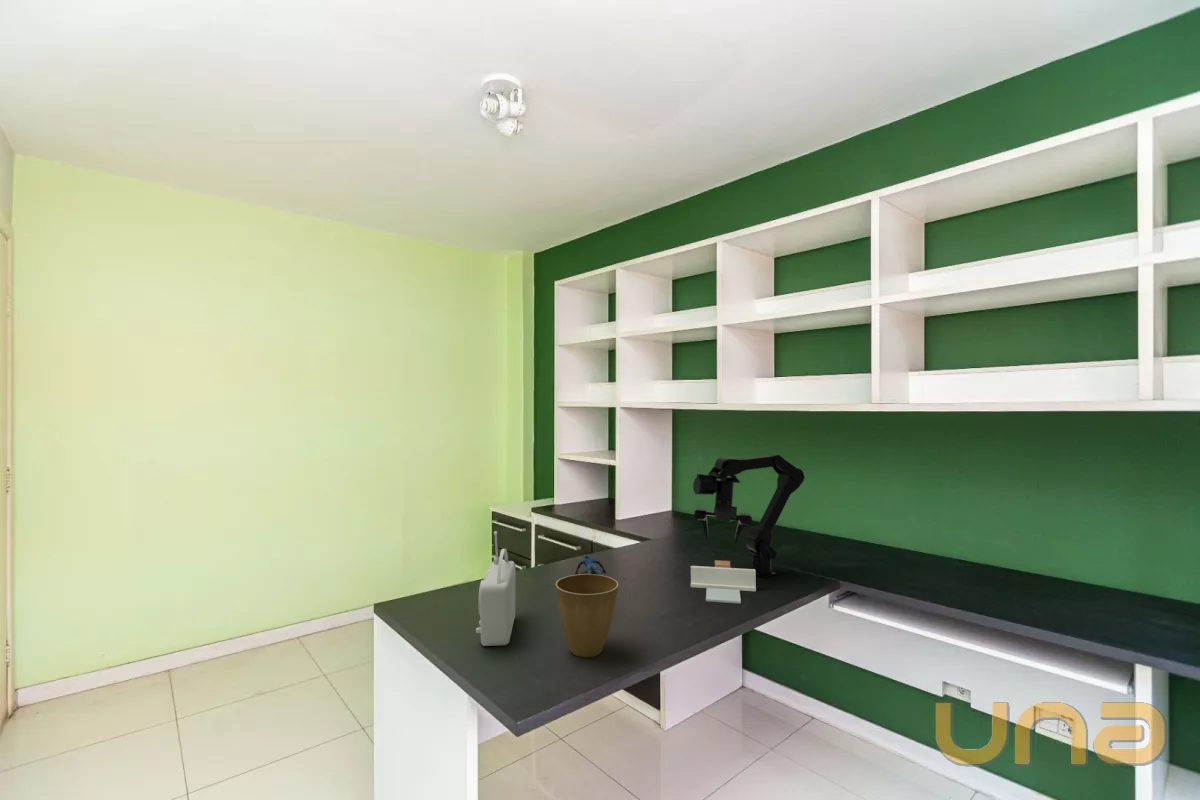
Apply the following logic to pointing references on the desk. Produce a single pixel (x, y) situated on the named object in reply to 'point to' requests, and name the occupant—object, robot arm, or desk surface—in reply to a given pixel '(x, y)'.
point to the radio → (497, 601)
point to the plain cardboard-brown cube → (722, 564)
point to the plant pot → (586, 611)
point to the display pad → (723, 595)
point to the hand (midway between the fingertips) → (721, 541)
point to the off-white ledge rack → (723, 578)
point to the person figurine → (590, 565)
